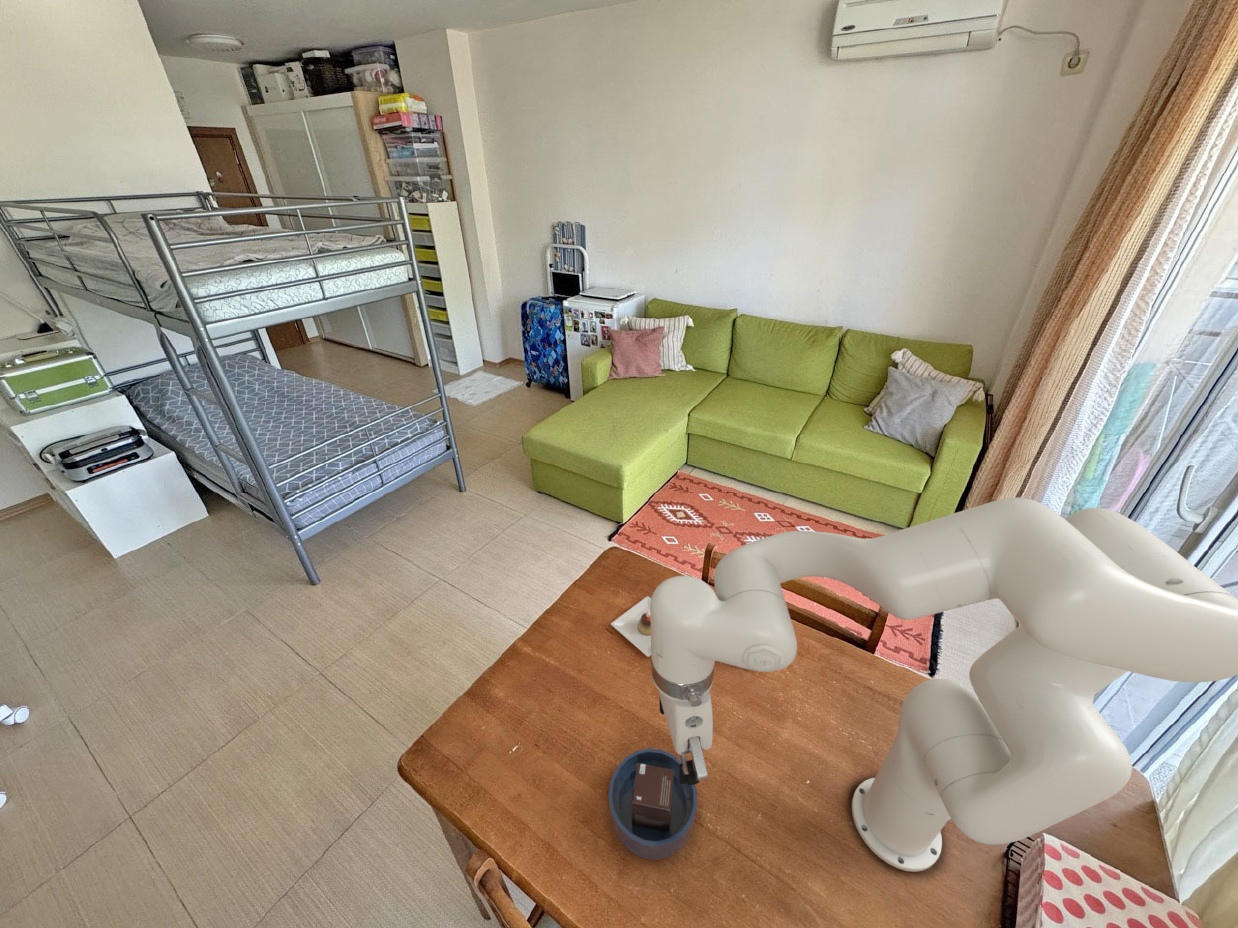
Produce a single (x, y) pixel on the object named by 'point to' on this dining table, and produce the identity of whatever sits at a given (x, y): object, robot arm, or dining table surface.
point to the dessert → (637, 625)
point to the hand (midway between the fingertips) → (680, 742)
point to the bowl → (620, 797)
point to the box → (652, 797)
